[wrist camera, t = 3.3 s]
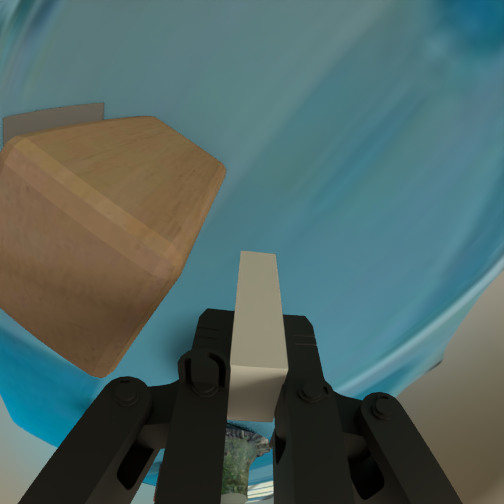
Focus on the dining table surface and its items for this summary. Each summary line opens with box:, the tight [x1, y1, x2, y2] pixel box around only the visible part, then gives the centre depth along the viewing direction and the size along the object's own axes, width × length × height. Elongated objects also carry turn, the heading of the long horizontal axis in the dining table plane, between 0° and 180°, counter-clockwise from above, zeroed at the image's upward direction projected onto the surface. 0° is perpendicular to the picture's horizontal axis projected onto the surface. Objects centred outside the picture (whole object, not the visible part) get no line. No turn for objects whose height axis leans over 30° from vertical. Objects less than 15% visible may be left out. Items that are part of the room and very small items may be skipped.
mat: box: [3, 103, 104, 146], centre depth 28 cm, size 16×16×1 cm
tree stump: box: [221, 424, 272, 504], centre depth 45 cm, size 18×20×18 cm
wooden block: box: [0, 116, 226, 378], centre depth 20 cm, size 10×10×20 cm
